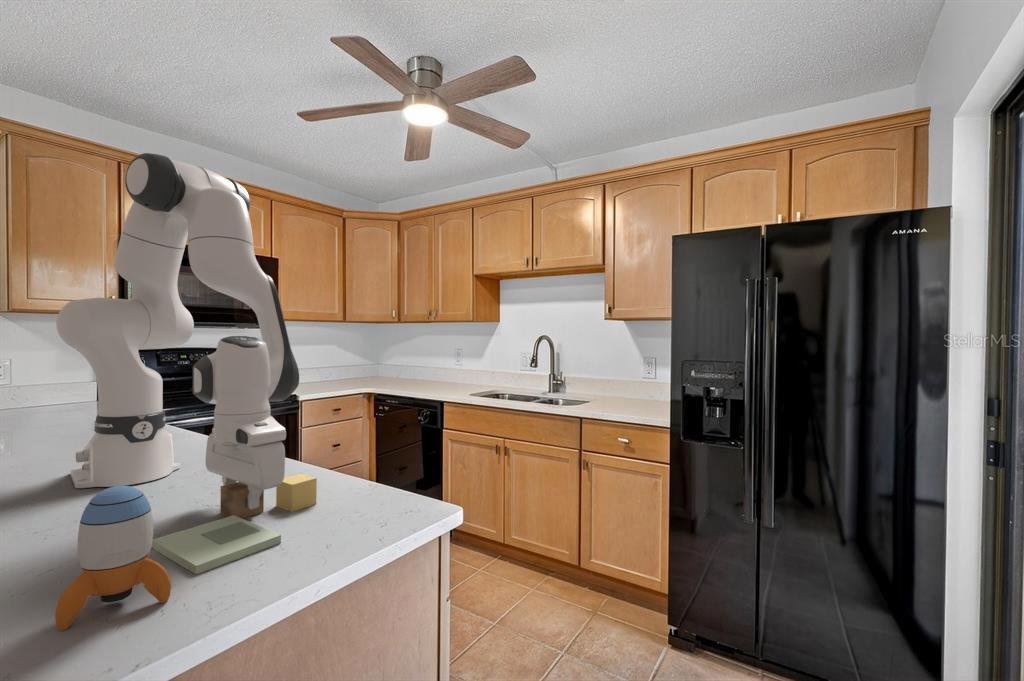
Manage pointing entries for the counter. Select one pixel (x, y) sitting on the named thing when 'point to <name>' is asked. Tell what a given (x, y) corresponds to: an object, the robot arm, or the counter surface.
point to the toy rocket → (113, 553)
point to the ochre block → (296, 492)
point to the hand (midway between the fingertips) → (242, 503)
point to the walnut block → (238, 501)
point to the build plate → (215, 543)
